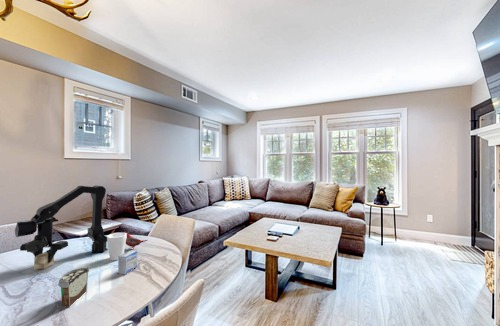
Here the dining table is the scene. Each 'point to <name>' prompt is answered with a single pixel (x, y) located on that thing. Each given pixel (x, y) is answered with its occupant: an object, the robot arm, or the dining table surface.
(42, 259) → the maple block
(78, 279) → the food container
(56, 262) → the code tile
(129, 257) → the medicine box
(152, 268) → the dining table surface
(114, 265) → the dining table surface
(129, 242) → the decorative bird figurine
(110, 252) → the foam cup
